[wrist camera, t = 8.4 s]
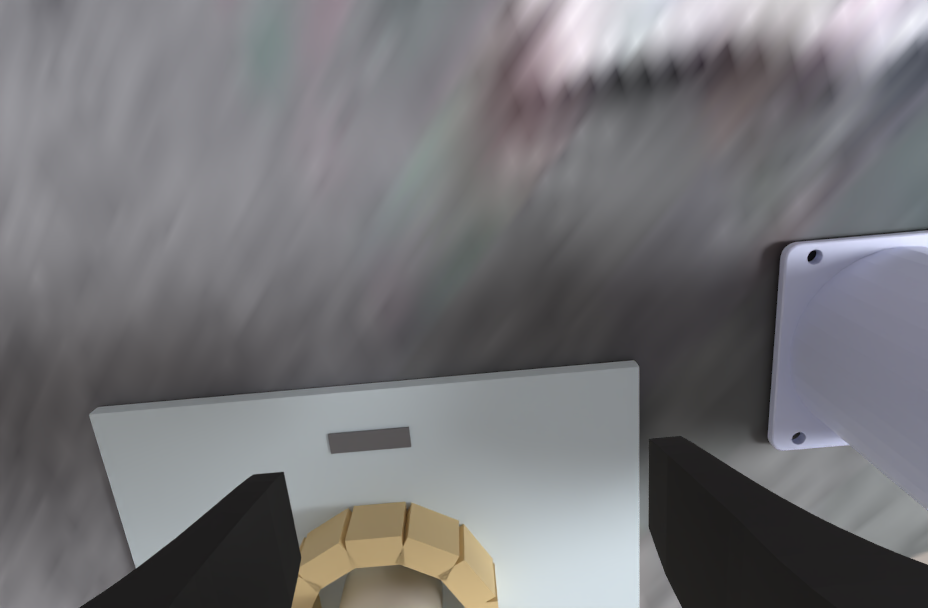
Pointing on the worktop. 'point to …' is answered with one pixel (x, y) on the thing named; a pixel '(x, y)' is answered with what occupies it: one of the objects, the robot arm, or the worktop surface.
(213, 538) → the robot arm
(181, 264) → the worktop surface
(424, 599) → the tube
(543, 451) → the plate
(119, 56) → the worktop surface
